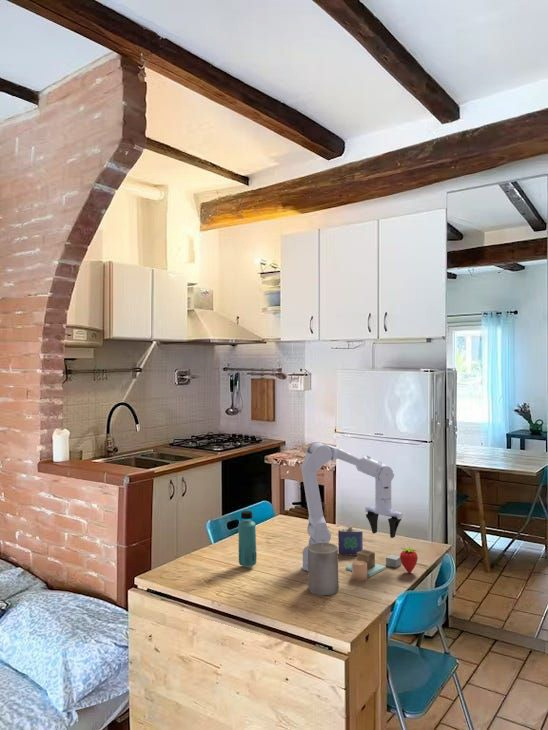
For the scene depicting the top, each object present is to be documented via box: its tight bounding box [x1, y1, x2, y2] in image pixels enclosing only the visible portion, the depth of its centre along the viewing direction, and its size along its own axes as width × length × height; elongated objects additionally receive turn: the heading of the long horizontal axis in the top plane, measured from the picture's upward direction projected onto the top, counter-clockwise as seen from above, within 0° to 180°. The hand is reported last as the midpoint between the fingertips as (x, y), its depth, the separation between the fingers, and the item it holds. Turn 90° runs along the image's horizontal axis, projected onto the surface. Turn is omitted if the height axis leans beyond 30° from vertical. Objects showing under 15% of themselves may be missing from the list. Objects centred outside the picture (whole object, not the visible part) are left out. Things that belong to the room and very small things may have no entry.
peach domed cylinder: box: [351, 560, 368, 582], centre depth 190 cm, size 5×5×5 cm
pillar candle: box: [307, 542, 340, 596], centre depth 180 cm, size 10×10×15 cm
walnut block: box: [356, 549, 376, 570], centre depth 198 cm, size 4×4×5 cm
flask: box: [337, 525, 364, 556], centre depth 213 cm, size 9×3×11 cm, turn 88°
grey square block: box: [385, 554, 402, 569], centre depth 202 cm, size 4×4×3 cm
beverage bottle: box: [237, 510, 257, 567], centre depth 200 cm, size 6×7×20 cm
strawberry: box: [399, 543, 419, 574], centre depth 194 cm, size 6×8×10 cm
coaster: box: [345, 562, 387, 578], centre depth 198 cm, size 10×10×1 cm
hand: (383, 535), depth 204 cm, fingers open, 7 cm apart
